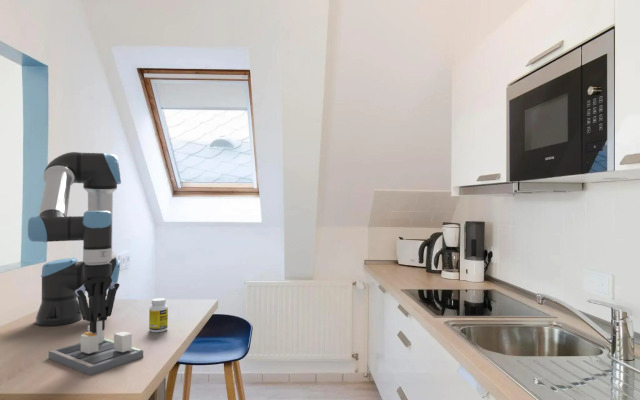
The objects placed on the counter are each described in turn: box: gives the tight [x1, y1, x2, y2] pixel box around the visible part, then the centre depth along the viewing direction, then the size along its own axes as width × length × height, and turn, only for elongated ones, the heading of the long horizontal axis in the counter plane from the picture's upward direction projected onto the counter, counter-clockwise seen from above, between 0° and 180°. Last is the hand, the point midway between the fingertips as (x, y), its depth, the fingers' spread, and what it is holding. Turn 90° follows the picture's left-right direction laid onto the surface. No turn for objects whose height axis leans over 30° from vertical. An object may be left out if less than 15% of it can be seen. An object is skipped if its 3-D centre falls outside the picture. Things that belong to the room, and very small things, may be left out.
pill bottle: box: [148, 297, 169, 333], centre depth 155 cm, size 6×6×11 cm
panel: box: [47, 337, 144, 376], centre depth 128 cm, size 22×16×2 cm
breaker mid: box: [80, 331, 99, 354], centre depth 126 cm, size 4×3×5 cm
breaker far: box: [87, 325, 105, 341], centre depth 135 cm, size 4×3×5 cm
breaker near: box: [113, 331, 133, 352], centre depth 127 cm, size 4×3×5 cm
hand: (97, 342), depth 128 cm, fingers closed
